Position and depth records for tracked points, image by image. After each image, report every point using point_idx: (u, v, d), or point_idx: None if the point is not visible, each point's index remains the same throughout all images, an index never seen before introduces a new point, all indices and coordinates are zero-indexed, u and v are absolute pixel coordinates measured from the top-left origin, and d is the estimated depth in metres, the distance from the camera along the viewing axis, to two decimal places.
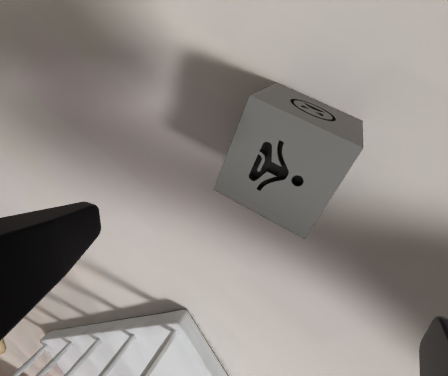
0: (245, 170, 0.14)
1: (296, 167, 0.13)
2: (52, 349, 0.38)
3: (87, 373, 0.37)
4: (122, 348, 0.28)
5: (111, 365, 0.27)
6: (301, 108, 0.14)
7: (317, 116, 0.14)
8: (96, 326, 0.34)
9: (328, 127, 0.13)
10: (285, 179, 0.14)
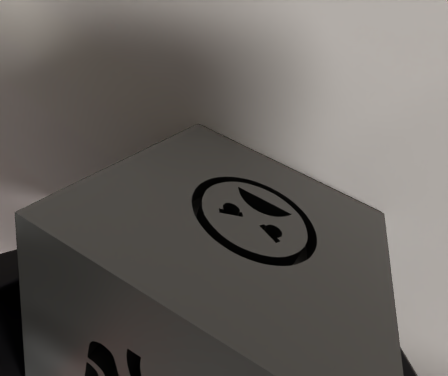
0: None
1: None
2: None
3: None
4: None
5: None
6: (215, 222, 0.05)
7: (259, 251, 0.05)
8: None
9: (281, 322, 0.04)
10: None
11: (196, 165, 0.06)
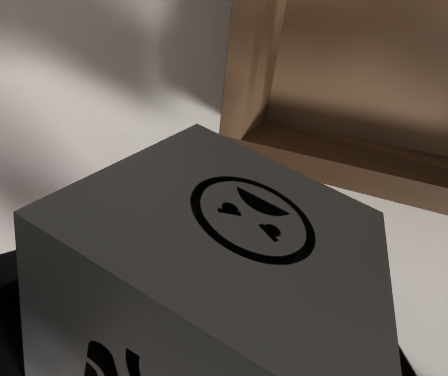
0: None
1: None
2: None
3: None
4: None
5: None
6: (214, 222, 0.05)
7: (257, 250, 0.05)
8: None
9: (280, 321, 0.04)
10: None
11: (195, 165, 0.06)
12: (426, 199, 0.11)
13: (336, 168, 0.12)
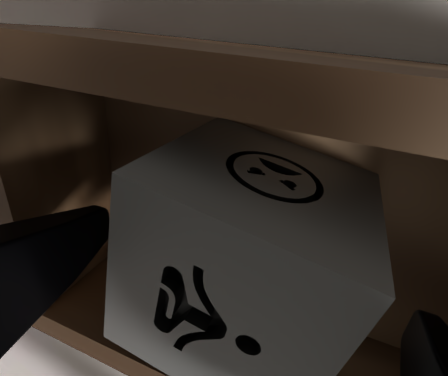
0: (144, 312, 0.07)
1: (240, 319, 0.06)
2: None
3: None
4: None
5: None
6: (246, 178, 0.07)
7: (280, 195, 0.06)
8: None
9: (302, 232, 0.05)
10: (223, 338, 0.06)
11: (224, 144, 0.08)
12: None
13: (136, 366, 0.10)
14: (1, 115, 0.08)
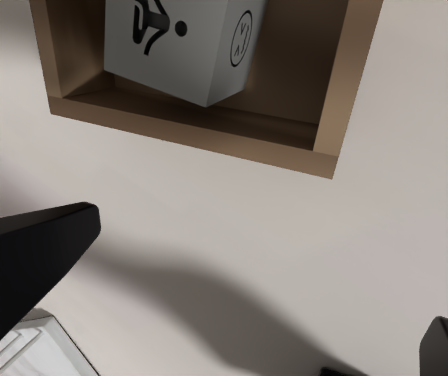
0: (127, 32, 0.12)
1: (176, 9, 0.11)
2: None
3: (3, 362, 0.48)
4: (9, 344, 0.39)
5: None
6: None
7: None
8: None
9: None
10: (169, 31, 0.12)
11: None
12: (186, 137, 0.14)
13: (126, 117, 0.15)
14: None
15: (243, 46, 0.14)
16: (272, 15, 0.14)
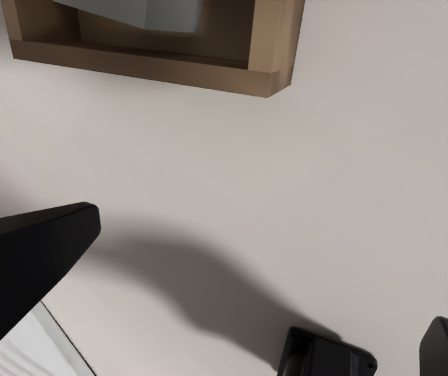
0: None
1: None
2: None
3: None
4: None
5: None
6: None
7: None
8: None
9: None
10: None
11: None
12: (135, 68, 0.15)
13: (81, 53, 0.16)
14: None
15: None
16: None
